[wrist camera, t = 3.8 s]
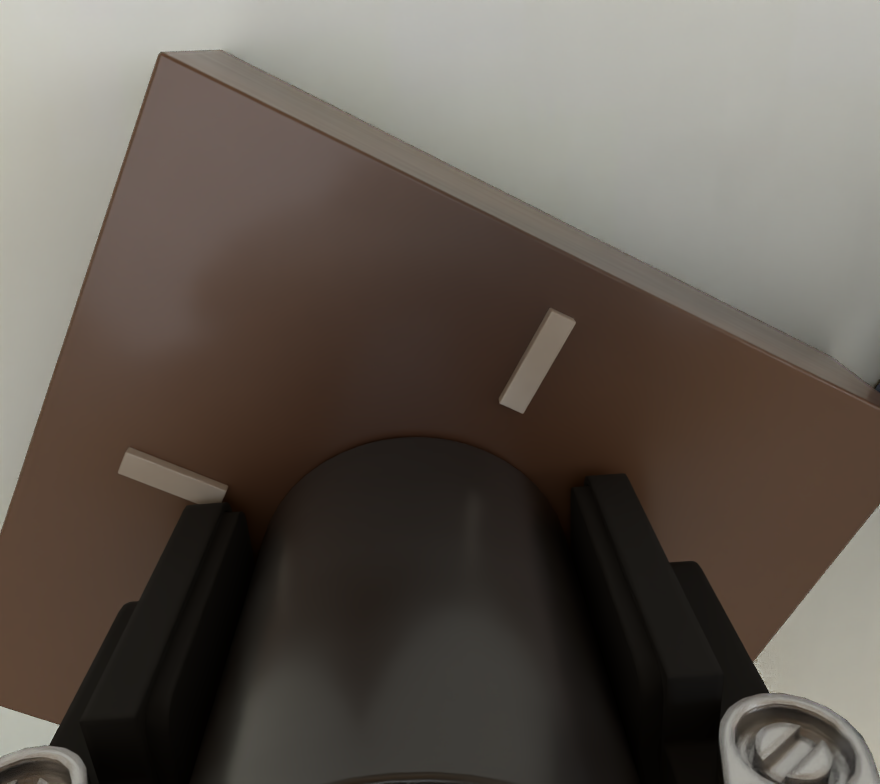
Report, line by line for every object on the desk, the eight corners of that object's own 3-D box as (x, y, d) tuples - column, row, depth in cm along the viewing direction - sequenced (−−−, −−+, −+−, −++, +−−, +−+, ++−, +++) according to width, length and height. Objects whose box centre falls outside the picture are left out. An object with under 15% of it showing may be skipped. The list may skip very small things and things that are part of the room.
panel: (833, 356, 14) (943, 440, 11) (547, 753, 17) (574, 897, 14) (218, 48, 12) (153, 49, 9) (32, 572, 15) (-58, 698, 12)
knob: (625, 508, 11) (811, 921, 6) (481, 725, 13) (528, 1209, 8) (334, 383, 10) (252, 735, 5) (216, 631, 12) (58, 1103, 7)
